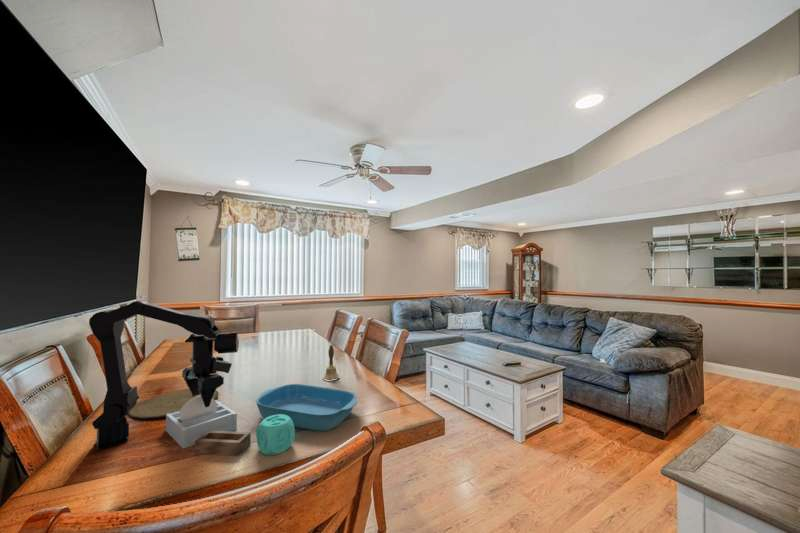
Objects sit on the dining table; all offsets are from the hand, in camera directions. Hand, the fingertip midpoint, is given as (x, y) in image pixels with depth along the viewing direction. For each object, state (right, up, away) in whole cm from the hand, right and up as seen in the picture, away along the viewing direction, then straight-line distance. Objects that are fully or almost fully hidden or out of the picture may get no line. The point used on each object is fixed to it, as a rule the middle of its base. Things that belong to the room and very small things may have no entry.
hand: (201, 402), depth 103 cm
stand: (+13, -9, -11) cm, 19 cm away
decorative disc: (-22, -10, +20) cm, 31 cm away
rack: (0, -9, 0) cm, 9 cm away
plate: (0, -3, -1) cm, 3 cm away
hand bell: (+31, -10, +51) cm, 60 cm away
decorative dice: (+28, -9, -10) cm, 31 cm away
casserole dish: (+31, -10, +11) cm, 34 cm away
